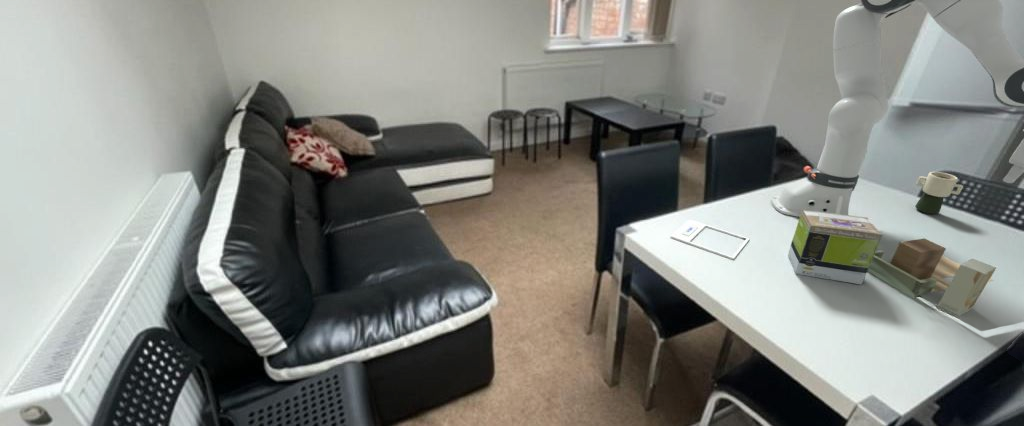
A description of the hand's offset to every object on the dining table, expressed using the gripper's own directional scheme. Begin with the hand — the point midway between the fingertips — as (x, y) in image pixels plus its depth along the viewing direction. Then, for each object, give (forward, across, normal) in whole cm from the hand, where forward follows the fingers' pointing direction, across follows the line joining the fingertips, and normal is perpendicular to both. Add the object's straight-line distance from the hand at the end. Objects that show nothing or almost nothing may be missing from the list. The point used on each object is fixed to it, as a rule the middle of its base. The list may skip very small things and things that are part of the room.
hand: (1006, 182), depth 111 cm
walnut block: (+27, +20, -1) cm, 34 cm away
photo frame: (+40, +43, -40) cm, 71 cm away
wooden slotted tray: (+27, +14, +1) cm, 30 cm away
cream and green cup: (+19, -33, -13) cm, 40 cm away
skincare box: (+28, +26, +10) cm, 39 cm away
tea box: (+34, +33, -14) cm, 50 cm away
